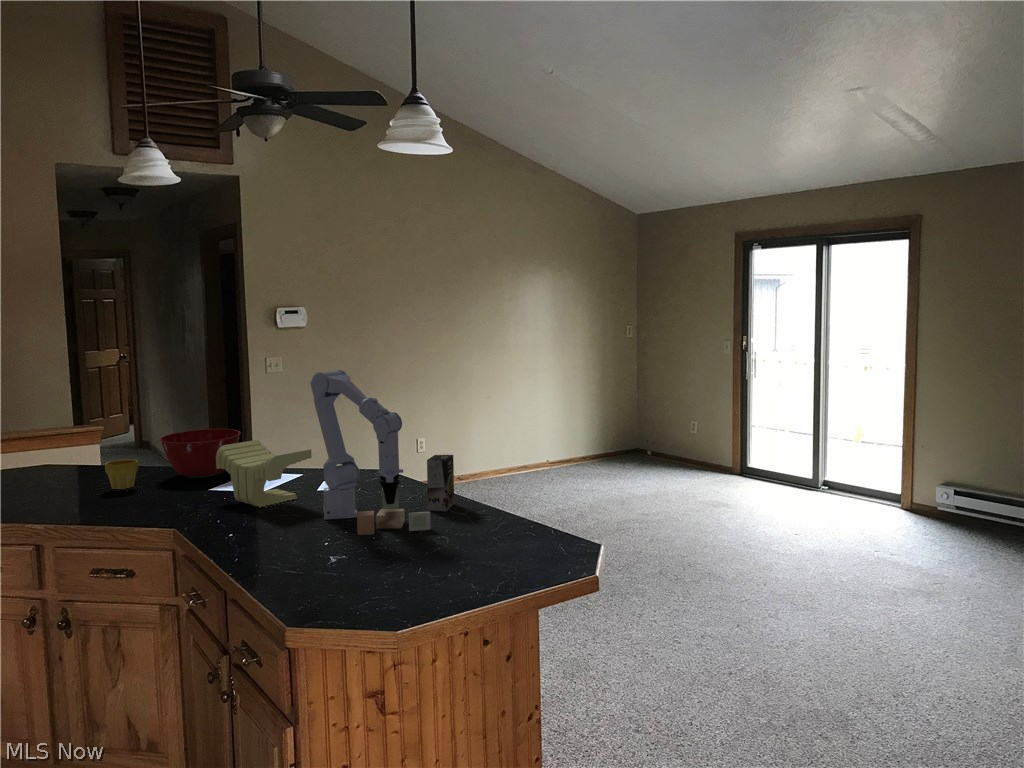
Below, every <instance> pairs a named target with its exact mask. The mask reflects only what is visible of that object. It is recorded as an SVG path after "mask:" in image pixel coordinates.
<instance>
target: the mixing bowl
mask: <svg viewBox="0 0 1024 768" xmlns="http://www.w3.org/2000/svg"><path fill="white" fill-rule="evenodd" d="M240 435H241V431H239V430H237V429H230V428H205V429H203V428H202V429H193V430H185V431H179V432H175V433H170V434H166V435H163V436H161V437H160V438H159V441H160V443H161V445H162V447H163V451H164V454H165V456H166V458H167V459H168V461H169V463H170V465H171V466H172V468H173V469H174V470H175V472H176V473H177V474H179V475H180V476H182V475H183V476H182V477H184V476H190V477H191V476H192V477H193V476H207V475H216V474H220V473H222V474H223V473H225V472H227V471H226V469H221V468H220V469H217V468H216V454H217V451H218V450H219V448H220V447H222V446H224V445H228V444H235V443H239V440H240Z"/></svg>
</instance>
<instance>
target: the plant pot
mask: <svg viewBox="0 0 1024 768" xmlns="http://www.w3.org/2000/svg"><path fill="white" fill-rule="evenodd" d="M104 469H105V470H104V471H105V474H107V477H108V479H109V483H110V486H111V490H112V489H126V488H130V487H133V486H134V487H135V481H136V475H137V472H138V470H139V462H138V460H137V459H117V460H111V461H107V462H105V463H104Z"/></svg>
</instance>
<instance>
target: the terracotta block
mask: <svg viewBox="0 0 1024 768" xmlns="http://www.w3.org/2000/svg"><path fill="white" fill-rule="evenodd" d="M374 513H375V510H365V511H364V510H363V511H357V517H356V525H357V526H356V527H357V528H356V529H357V531H356V532H357V535H358V536H365V535H366V536H367V535H375V514H374Z"/></svg>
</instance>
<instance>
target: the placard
mask: <svg viewBox="0 0 1024 768" xmlns="http://www.w3.org/2000/svg"><path fill="white" fill-rule="evenodd" d="M431 528H432V527H431V511H417V512H416V511H415V512H413V511H412V512H408V531H409V532H412V531H413V532H414V531H417V532H418V531H427V530H428V531H429V530H430V531H431Z"/></svg>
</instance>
